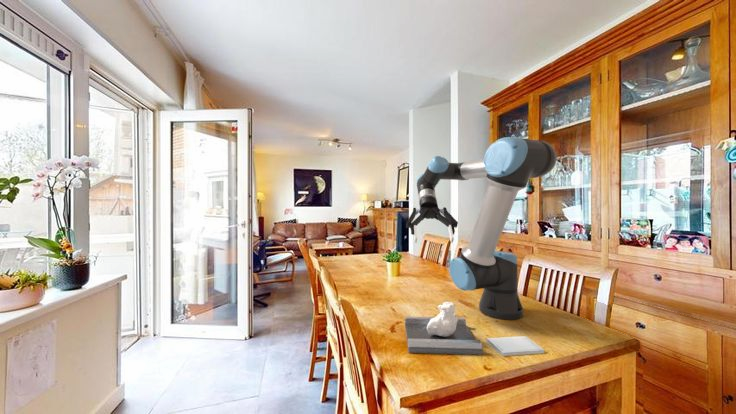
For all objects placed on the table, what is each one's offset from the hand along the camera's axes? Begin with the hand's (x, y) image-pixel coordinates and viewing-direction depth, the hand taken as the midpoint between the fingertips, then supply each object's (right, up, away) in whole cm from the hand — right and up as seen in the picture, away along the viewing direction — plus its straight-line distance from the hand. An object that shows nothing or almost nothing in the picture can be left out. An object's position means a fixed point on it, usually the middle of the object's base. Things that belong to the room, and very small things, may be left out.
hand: (434, 240), depth 103 cm
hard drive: (+17, -28, -25) cm, 41 cm away
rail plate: (-3, -28, -19) cm, 34 cm away
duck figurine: (-2, -27, -20) cm, 33 cm away
